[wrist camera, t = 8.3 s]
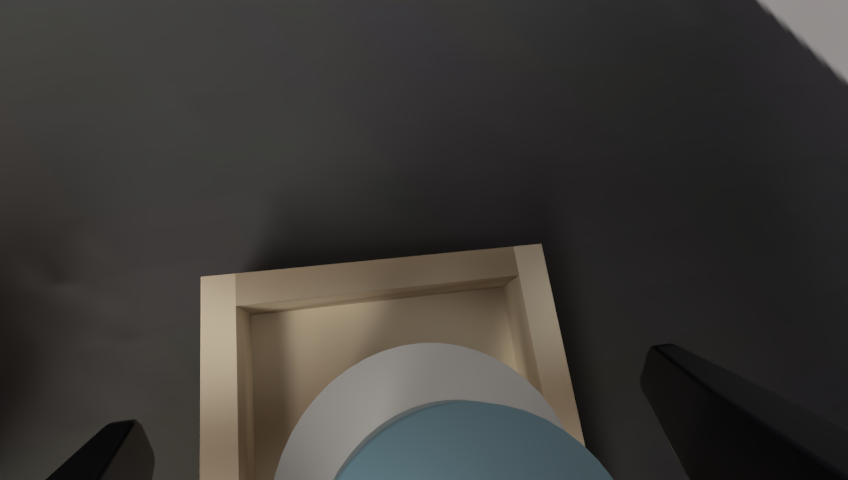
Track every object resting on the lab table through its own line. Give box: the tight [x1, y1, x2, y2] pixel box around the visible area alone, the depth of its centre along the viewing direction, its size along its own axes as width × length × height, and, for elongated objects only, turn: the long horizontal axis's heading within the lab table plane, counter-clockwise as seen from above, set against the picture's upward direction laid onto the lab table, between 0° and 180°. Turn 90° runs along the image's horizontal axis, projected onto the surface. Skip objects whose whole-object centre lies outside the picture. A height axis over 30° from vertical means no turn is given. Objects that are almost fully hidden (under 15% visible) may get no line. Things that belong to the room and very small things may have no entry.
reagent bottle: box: [274, 343, 613, 480], centre depth 9 cm, size 5×5×12 cm
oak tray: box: [200, 244, 585, 480], centre depth 15 cm, size 11×11×3 cm
